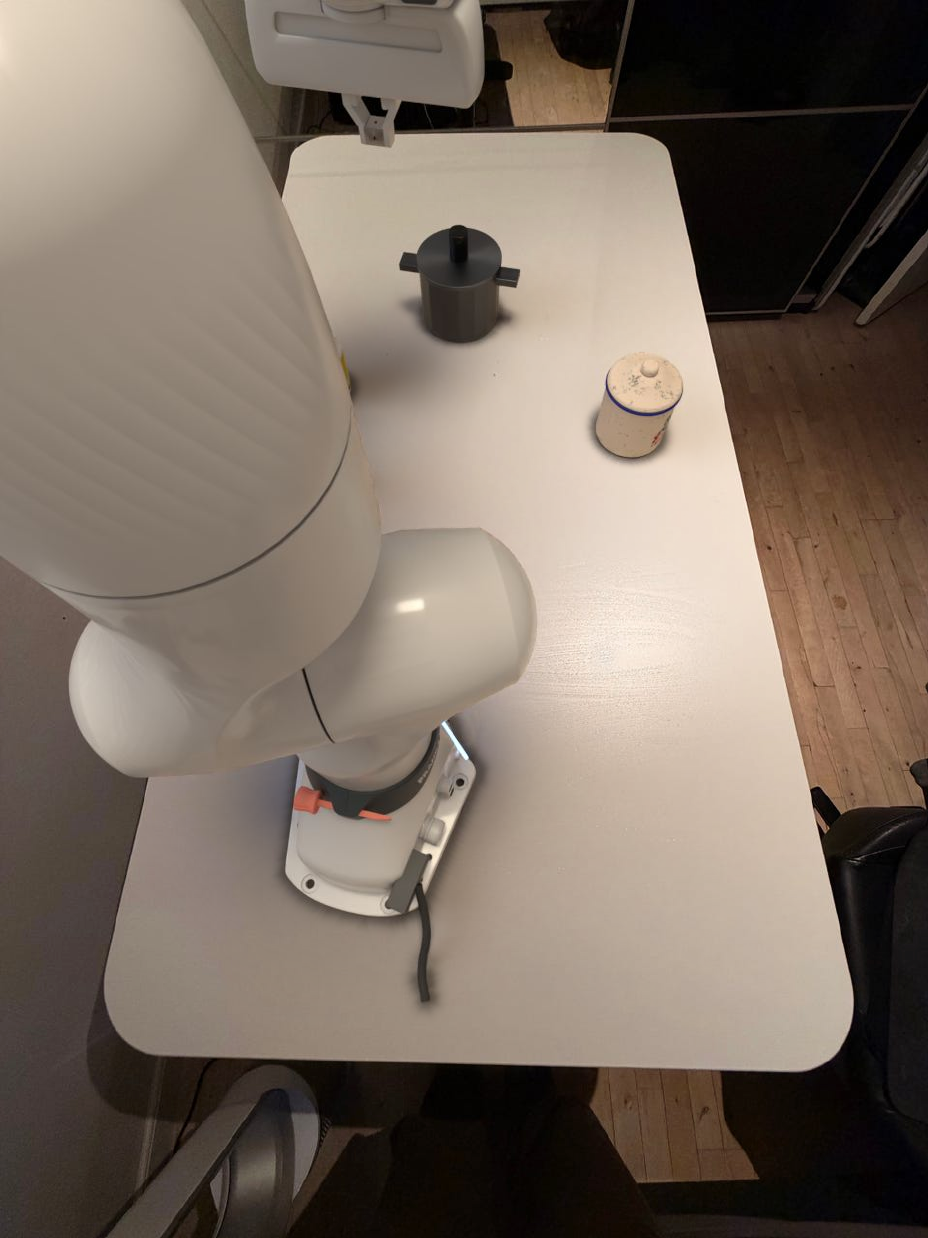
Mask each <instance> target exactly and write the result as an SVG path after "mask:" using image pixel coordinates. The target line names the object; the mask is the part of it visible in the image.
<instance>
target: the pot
mask: <svg viewBox="0 0 928 1238" xmlns="http://www.w3.org/2000/svg"><path fill="white" fill-rule="evenodd" d="M416 256H417V253H413V252H408V251H403V252H402V255H401V258H400V260H399V263H398V267H399V271H402V272H407V273H408V272H409V273H414V274H418V275H419V284H420V295H421V306H422V314H423V321H424V324H425V326H426V328H427V329H428V331H429V332H430V333H431V334H433V336H435V337H437V338H438V339H440V340H443V341H445V342H450V343H456V344H457V343H458V344H463V343H464V344H465V343H470V342H475V341H477V340H480V339H481V338H484V337H486V335H488V334H489V333H490V332H491V331H492V330H493V328H494V327H495V325H496V324H497V321H498V316H499V307H500V306H499V304H500V303H499V301H500V287H505V288H506V287H507V288H512V289H517V288H518V284H519V280H520V277H521V269H520V268H514V267H507V266H501V267H500V270H499V272H498V273H497V275H496V276H495V277H494V278H493V279H492V280H491V281H490V282H488V283H487V284H485V285H483V286H481V287H479V288H476V289H473V290H468V291H449V290H444V289H441V288H438V287H435V286H433V285H432V284H430V283H429V282H427V281H426V280H425V279H424V278H423V277H422V276H421V274H420V272H419V270H418V268H417V261H416Z"/></svg>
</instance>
